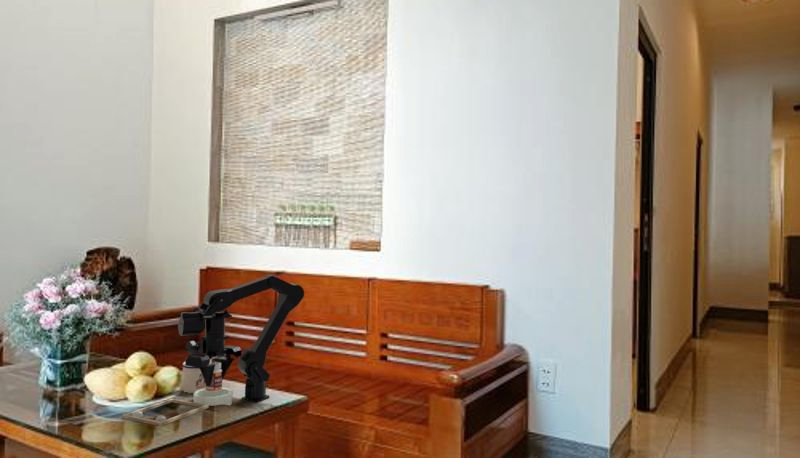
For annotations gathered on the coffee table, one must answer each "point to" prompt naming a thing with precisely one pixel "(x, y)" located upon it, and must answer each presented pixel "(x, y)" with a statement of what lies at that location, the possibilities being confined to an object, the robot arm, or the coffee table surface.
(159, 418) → the pebble
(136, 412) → the pebble
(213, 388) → the pill bottle
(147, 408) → the tray
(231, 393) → the bowl
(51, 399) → the coffee table surface
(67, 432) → the coffee table surface
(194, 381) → the teacup with lid
